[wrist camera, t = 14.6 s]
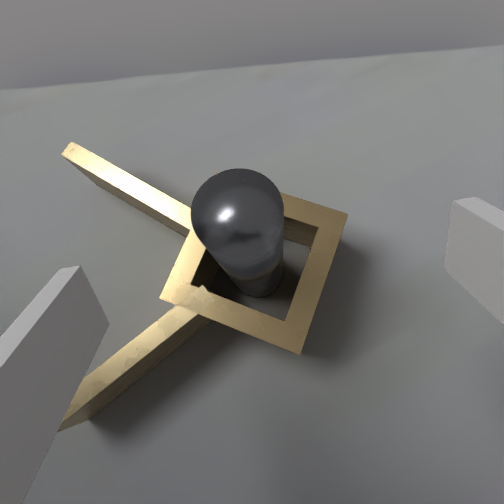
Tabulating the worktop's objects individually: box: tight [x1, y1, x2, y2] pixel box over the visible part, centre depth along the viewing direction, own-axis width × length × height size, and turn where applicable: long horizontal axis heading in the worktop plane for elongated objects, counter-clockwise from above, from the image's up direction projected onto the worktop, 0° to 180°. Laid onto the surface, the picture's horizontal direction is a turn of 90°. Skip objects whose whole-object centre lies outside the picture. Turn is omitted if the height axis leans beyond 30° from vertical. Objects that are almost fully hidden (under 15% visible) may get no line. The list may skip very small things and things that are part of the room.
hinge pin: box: [191, 169, 284, 297], centre depth 18 cm, size 4×4×12 cm
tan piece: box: [57, 142, 348, 432], centre depth 22 cm, size 20×18×4 cm
